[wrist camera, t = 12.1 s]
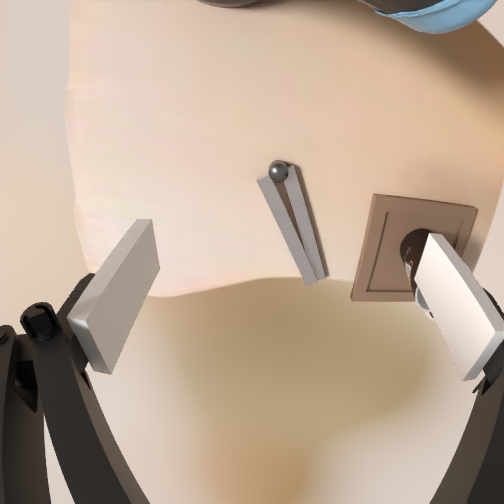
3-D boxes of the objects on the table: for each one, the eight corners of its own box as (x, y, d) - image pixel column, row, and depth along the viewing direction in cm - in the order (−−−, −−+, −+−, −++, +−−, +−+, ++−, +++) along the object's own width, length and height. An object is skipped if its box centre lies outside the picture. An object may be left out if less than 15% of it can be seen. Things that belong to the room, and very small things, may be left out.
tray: (373, 193, 40) (375, 197, 39) (473, 206, 39) (477, 209, 38) (350, 296, 49) (351, 301, 48) (440, 296, 49) (443, 301, 48)
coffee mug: (404, 216, 40) (432, 254, 32) (449, 227, 41) (480, 264, 32) (377, 280, 47) (395, 325, 38) (420, 287, 47) (441, 329, 38)
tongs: (253, 167, 39) (252, 171, 38) (290, 156, 38) (291, 159, 36) (293, 282, 48) (294, 289, 47) (324, 274, 47) (326, 282, 46)
